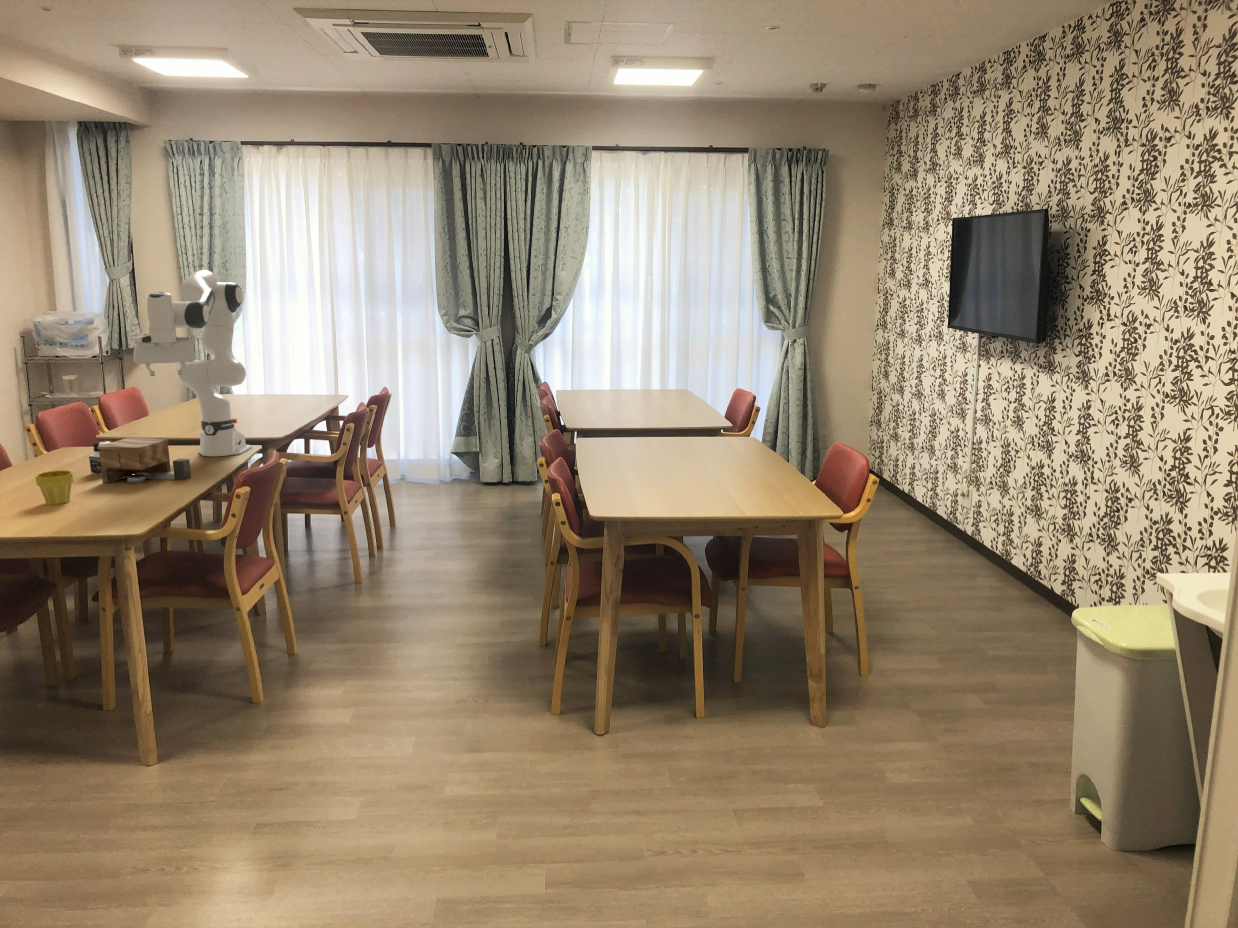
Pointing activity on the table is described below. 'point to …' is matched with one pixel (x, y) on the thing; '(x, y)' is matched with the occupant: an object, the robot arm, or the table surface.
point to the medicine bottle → (96, 458)
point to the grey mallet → (179, 473)
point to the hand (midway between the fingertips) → (166, 375)
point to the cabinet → (133, 457)
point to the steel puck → (136, 479)
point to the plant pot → (55, 486)
